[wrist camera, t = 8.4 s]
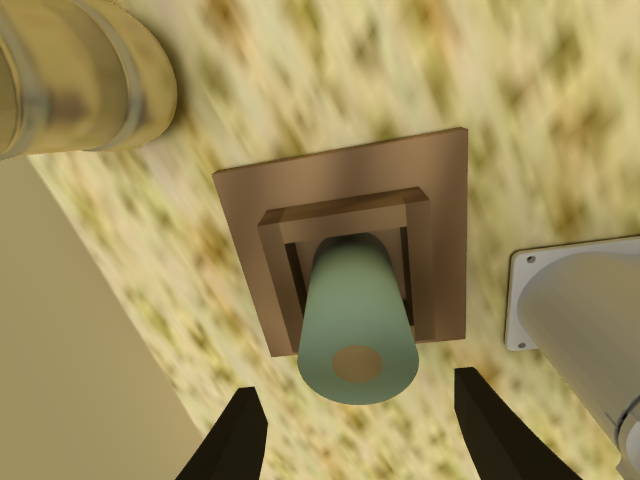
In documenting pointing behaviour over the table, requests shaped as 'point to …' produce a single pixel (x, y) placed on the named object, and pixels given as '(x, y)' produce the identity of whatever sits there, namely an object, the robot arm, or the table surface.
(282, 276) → the brown piece
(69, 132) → the plastic bottle
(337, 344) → the roll
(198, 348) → the table surface
